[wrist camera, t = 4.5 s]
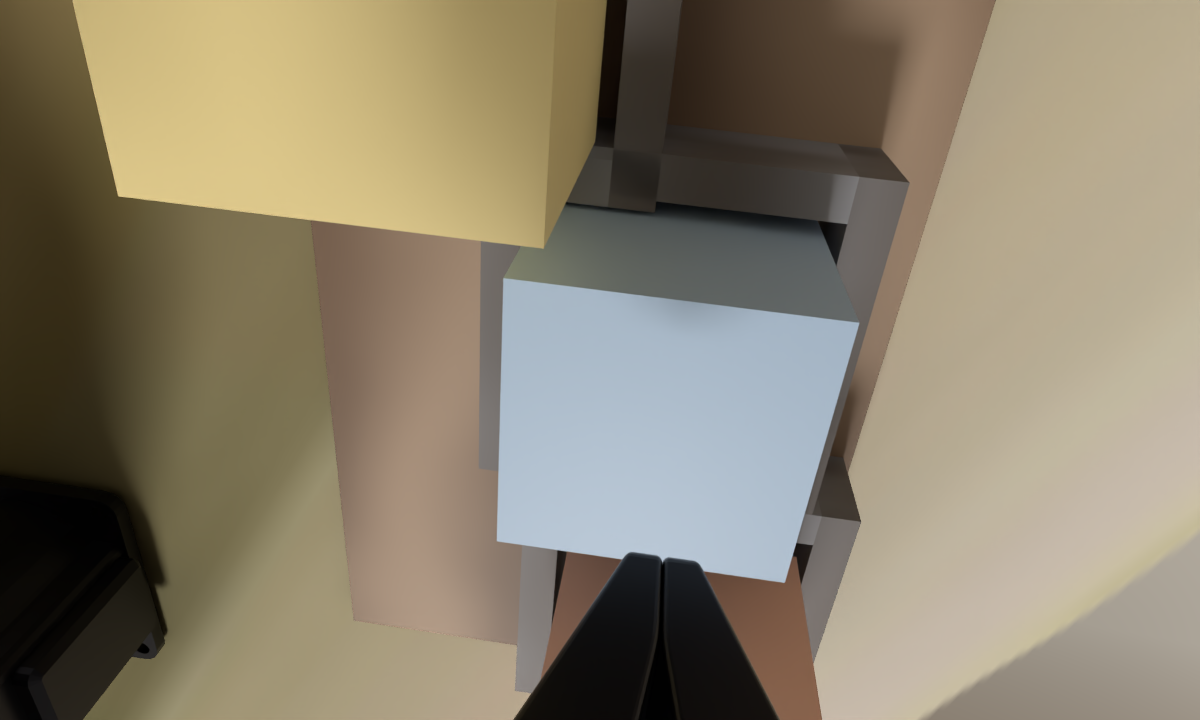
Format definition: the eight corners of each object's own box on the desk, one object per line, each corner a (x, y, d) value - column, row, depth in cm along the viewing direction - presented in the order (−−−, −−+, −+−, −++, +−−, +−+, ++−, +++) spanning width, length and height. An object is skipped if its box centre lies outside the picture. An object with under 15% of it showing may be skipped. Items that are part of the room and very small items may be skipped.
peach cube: (559, 672, 19) (520, 882, 15) (573, 525, 16) (530, 726, 12) (754, 702, 19) (770, 923, 14) (796, 557, 16) (830, 773, 12)
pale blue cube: (546, 391, 17) (496, 541, 13) (558, 178, 15) (502, 278, 10) (763, 420, 17) (784, 582, 13) (812, 208, 14) (859, 323, 10)
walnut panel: (361, 604, 23) (321, 685, 20) (271, -314, 12) (166, -374, 10) (779, 667, 22) (789, 758, 20) (1058, -246, 12) (1153, -293, 9)
